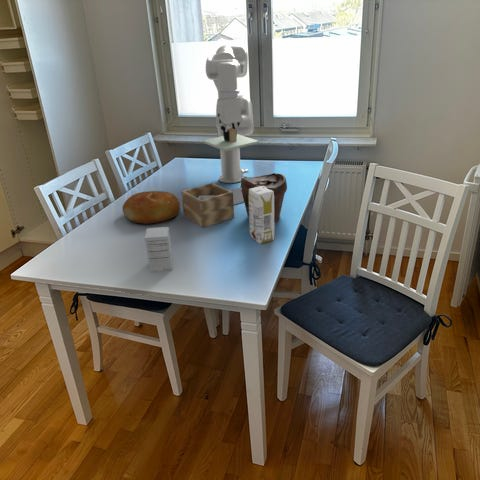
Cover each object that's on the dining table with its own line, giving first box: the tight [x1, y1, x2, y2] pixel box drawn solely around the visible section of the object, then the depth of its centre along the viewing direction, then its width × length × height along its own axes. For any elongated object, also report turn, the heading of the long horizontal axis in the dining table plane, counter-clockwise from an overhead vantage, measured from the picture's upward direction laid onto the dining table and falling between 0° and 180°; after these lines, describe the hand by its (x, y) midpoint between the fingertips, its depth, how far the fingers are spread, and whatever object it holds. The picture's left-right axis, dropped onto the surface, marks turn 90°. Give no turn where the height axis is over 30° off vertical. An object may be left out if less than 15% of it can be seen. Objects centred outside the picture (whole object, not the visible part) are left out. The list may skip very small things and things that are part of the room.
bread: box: [121, 190, 181, 225], centre depth 184 cm, size 23×23×10 cm
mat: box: [229, 187, 245, 206], centre depth 201 cm, size 16×16×1 cm
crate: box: [180, 182, 235, 229], centre depth 180 cm, size 15×15×11 cm
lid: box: [202, 127, 259, 151], centre depth 187 cm, size 17×17×6 cm
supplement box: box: [144, 226, 174, 273], centre depth 144 cm, size 7×7×13 cm
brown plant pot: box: [239, 173, 288, 223], centre depth 175 cm, size 18×20×18 cm
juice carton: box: [248, 186, 275, 245], centre depth 158 cm, size 8×9×19 cm
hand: (230, 139), depth 188 cm, fingers closed on lid, 3 cm apart
